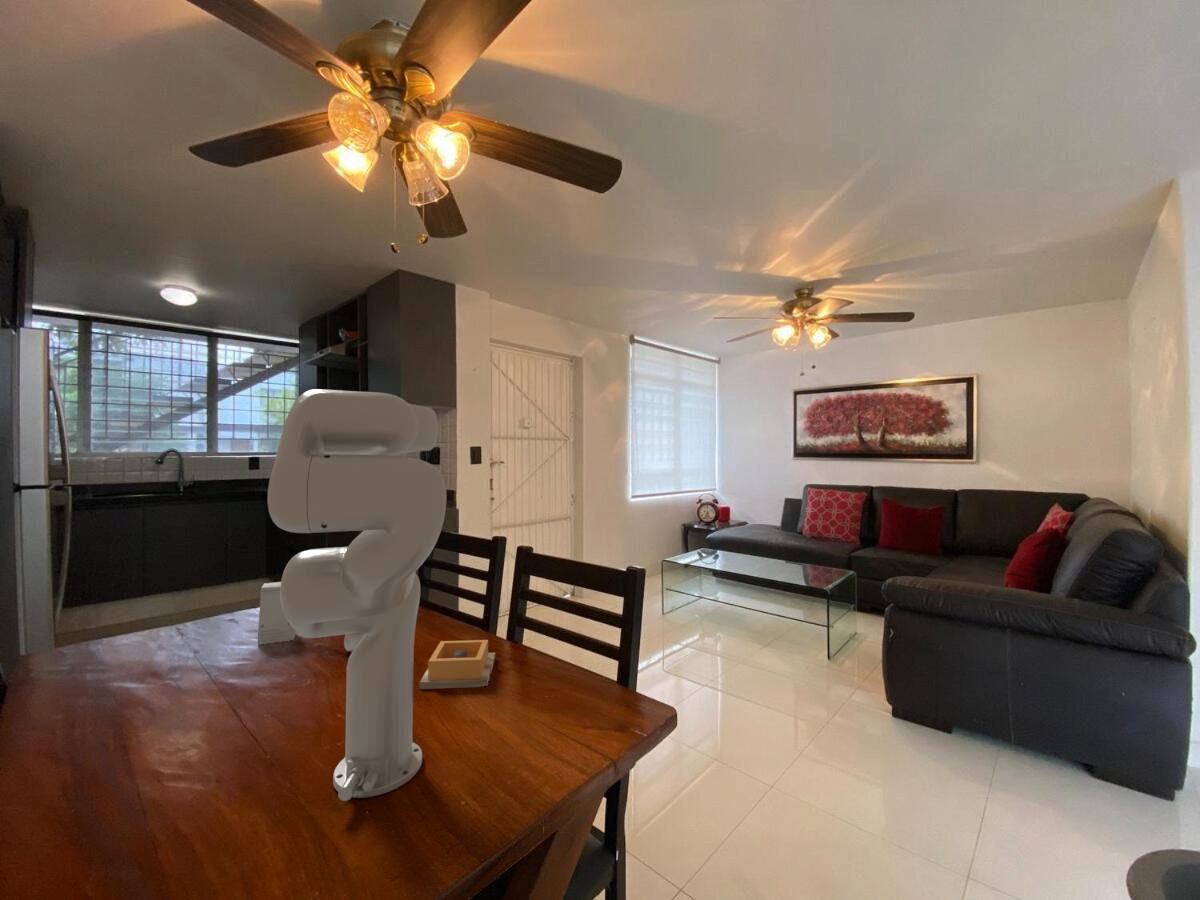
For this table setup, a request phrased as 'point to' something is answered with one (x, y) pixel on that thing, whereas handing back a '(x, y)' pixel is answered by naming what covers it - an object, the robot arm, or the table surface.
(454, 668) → the tan square frame
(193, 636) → the table surface
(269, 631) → the skincare box
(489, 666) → the board
